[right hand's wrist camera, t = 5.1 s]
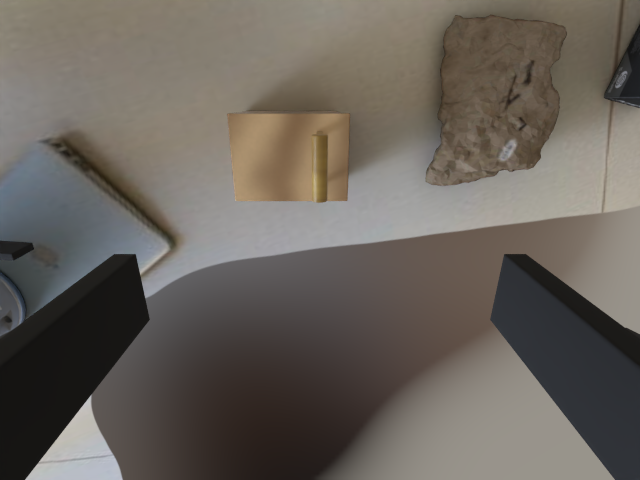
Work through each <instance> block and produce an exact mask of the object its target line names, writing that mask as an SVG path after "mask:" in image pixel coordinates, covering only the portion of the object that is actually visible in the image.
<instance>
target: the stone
mask: <svg viewBox="0 0 640 480" xmlns="http://www.w3.org/2000/svg"><path fill="white" fill-rule="evenodd" d="M566 35H567V32H566V29H565V27H563V26H559V25H557V24H554V23H548V22H543V21H537V20H536V21H528V20H522V19H515V20H512V19H508V18H503V17H498V16H494V15H490V16H488V17H486V18H462V17H461V16H457V15H455V18H454V20H453V22H452V24H451V25H450V26H449V27H448V28H447V30H446V33H445V35H444V46H443V47H444V51H445V56H444V58H443V61H442V65H441V69H440V70H441V78H442V92H443V95H442V103H441V105H440V109H439V112H438V119H439V120H440V121H441V122H442V124H443V125H442V127H441V135H440V137H441V145H440V146H439V148H437V149H436V151H435V154H434V159H433V161H432V162H431V163H430V165H429V167H428V169H427V171H426V182H428V183H430V184H432V185H439V186H446V185H456V184H460V183H464V182H467V183H469V182H471V181H476V180H478V179H480V178H485V177H490V176H495V175H496V174H497V173H498V172H499V171H500V170H508V171H510V172H512V171H514V170H521V169H527V170H528V169H530V168H533V167H534V166H535V165H536V163H537V162H538V161H539V160H540V158H541V155H540V152H541V148H542V147H543V145H544V143H545V142H546V141H547V140H548V139H549V135H550V134H551V132H552V131H553V129H554V126H555V123H556V120H557V117H558V113H559V108H560V107H559V99H560V98H559V94H558V92H557V91H556V90H555V89H554V87H553V85H552V78H551V74H550V67H551V66H552V64H553V63H554V62H555V61H557V60H559V58H560V51H561V46H562V44H563V41H564V39H565V37H566Z"/></svg>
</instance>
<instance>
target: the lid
mask: <svg viewBox="0 0 640 480" xmlns="http://www.w3.org/2000/svg"><path fill="white" fill-rule="evenodd" d="M227 116H228V126H229V137H230V148H231V159H232V169H233V180H234V191H235V201H313V202H318V203H321V202H326V201H347V197H348V164H349V130H350V114H349V113H229V114H227Z"/></svg>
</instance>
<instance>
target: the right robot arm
mask: <svg viewBox="0 0 640 480" xmlns="http://www.w3.org/2000/svg"><path fill="white" fill-rule="evenodd" d="M149 320H150V319H149V314H148V309H147V305H146V300H145V295H144V291H143V286H142V282H141V277H140V272H139V268H138V263H137V258H136V254H114V255H112V256H111V257H110V258H108V259H107V260H106V261H104V262H103V263H102V264H100V265H99V266H98V267H96V268H95V269H94V270H92V271H91V272H90V273H88V274H87V275H86V276H84V277H83V278H82V279H80V280H79V281H77V282H76V283H75V284H73V285H72V286H71V287H69V288H68V289H67V290H65V291H64V292H63V293H61V294H60V295H59V296H57V297H56V298H55V299H53V300H52V301H51V302H49V303H48V304H47V305H45V306H44V307H43V308H41V309H40V310H39V311H37V312H36V313H34V314H33V315H32V316H30V317H29V318H28V319H26V320H25V321H24V322H22V323H21V324H20V325H18V326H17V327H16V328H14V329H13V330H11V331H9V332H7V333H5V334H3V335H1V336H0V480H25V479H26V478H27V476H28V475H29V474H30V473H31V471H32V470H33V469H34V467H35V466H36V465H37V464H38V462H39V461H40V460H41V458H42V457H43V456H44V455H45V453H46V452H47V451H48V449H49V448H50V447H51V446H52V444H53V443H54V442H55V440H56V439H57V438H58V437H59V435H60V434H61V433H62V431H63V430H64V429H65V428H66V426H67V425H68V424H69V422H70V421H71V420H72V419H73V417H74V416H75V415H76V414H77V412H78V411H79V410H80V408H81V407H82V406H83V405H84V403H85V402H86V401H87V399H88V398H89V397H90V396H91V394H92V393H93V392H94V390H95V389H96V388H97V386H98V385H99V384H100V383H101V381H102V380H103V379H104V378H105V376H106V375H107V374H108V372H109V371H110V370H111V369H112V367H113V366H114V365H115V363H116V362H117V361H118V360H119V358H120V357H121V356H122V354H123V353H124V352H125V351H126V349H127V348H128V347H129V345H130V344H131V343H132V342H133V340H134V339H135V338H136V337H137V335H138V334H139V333H140V331H141V330H142V329H143V327H144V326H145V325H146V324H147V322H148V321H149ZM491 321H492V322H493V324H494V325H495V326H496V328H497V329H498V330H499V331H500V333H501V334H502V335H503V337H504V338H505V339H506V340H507V342H508V343H509V344H510V345H511V347H512V348H513V349H514V351H515V352H516V353H517V354H518V356H519V357H520V358H521V360H522V361H523V362H524V363H525V365H526V366H527V367H528V369H529V370H530V371H531V372H532V374H533V375H534V376H535V377H536V379H537V380H538V381H539V383H540V384H541V385H542V387H543V388H544V389H545V390H546V392H547V393H548V394H549V396H550V397H551V398H552V399H553V401H554V402H555V403H556V405H557V406H558V407H559V408H560V410H561V411H562V412H563V414H564V415H565V416H566V417H567V419H568V420H569V421H570V422H571V424H572V425H573V426H574V427H575V429H576V430H577V431H578V433H579V434H580V435H581V437H582V438H583V439H584V440H585V442H586V443H587V444H588V446H589V447H590V448H591V449H592V451H593V452H594V453H595V455H596V456H597V457H598V458H599V460H600V461H601V462H602V464H603V465H604V466H605V467H606V469H607V470H608V471H609V473H610V474H611V475H612V476H613V478H614V479H615V480H640V334H638V333H636V332H634V331H632V330H630V329H628V328H624V327H623V326H622V325H620V324H619V323H618V322H616V321H615V320H614V319H612V318H611V317H610V316H608V315H607V314H605V313H604V312H603V311H601V310H600V309H599V308H597V307H596V306H595V305H593V304H592V303H591V302H589V301H588V300H587V299H585V298H584V297H583V296H581V295H580V294H579V293H577V292H576V291H575V290H573V289H572V288H571V287H569V286H568V285H567V284H565V283H564V282H562V281H561V280H560V279H558V278H557V277H556V276H554V275H553V274H552V273H550V272H549V271H548V270H546V269H545V268H544V267H542V266H541V265H540V264H538V263H537V262H536V261H534V260H533V259H532V258H530V257H529V256H528V255H526V254H504V258H503V263H502V268H501V272H500V277H499V282H498V286H497V291H496V295H495V300H494V305H493V309H492V314H491Z"/></svg>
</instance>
